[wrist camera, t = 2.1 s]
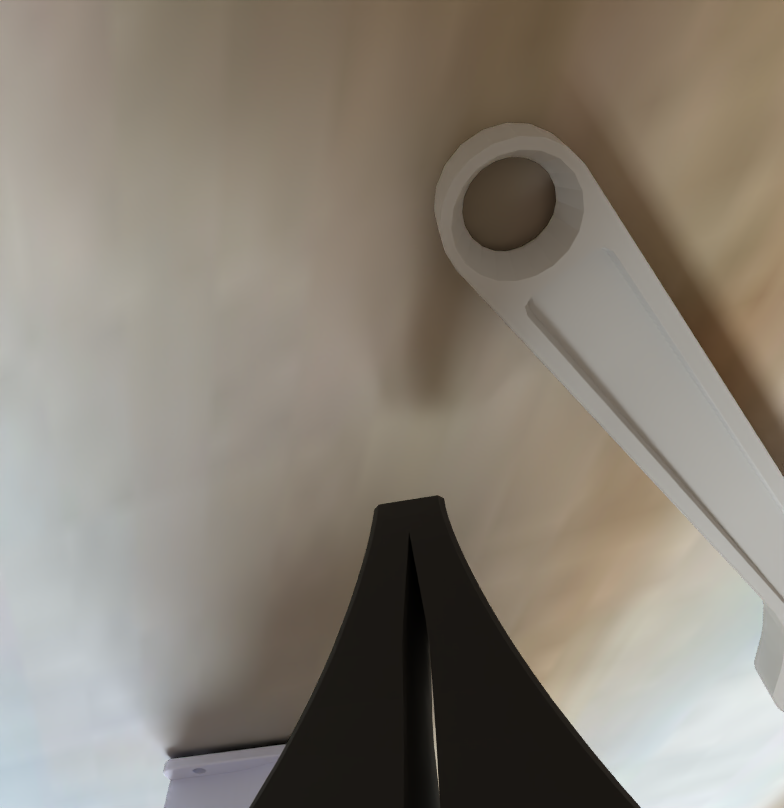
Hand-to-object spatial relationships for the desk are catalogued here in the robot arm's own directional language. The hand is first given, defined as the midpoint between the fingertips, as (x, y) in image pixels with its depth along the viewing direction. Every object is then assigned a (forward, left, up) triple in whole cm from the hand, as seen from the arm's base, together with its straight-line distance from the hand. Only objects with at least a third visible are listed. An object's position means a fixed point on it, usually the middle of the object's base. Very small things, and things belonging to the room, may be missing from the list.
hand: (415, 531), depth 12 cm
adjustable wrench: (+9, -4, -3) cm, 11 cm away
